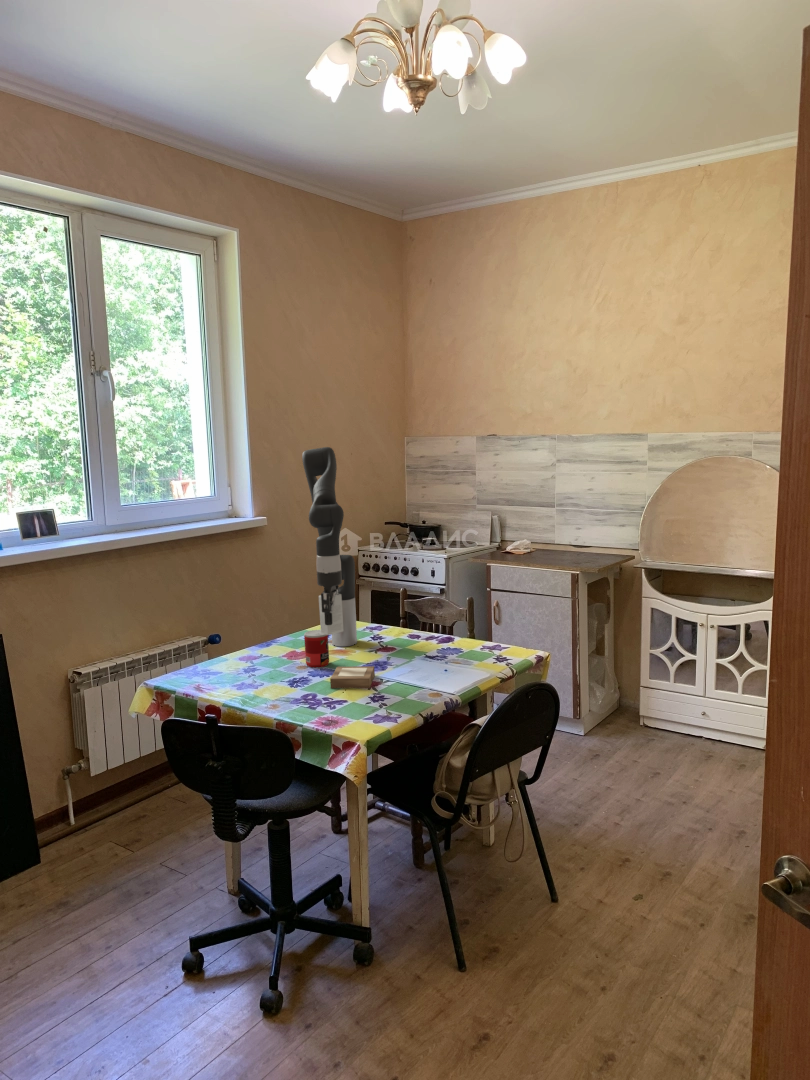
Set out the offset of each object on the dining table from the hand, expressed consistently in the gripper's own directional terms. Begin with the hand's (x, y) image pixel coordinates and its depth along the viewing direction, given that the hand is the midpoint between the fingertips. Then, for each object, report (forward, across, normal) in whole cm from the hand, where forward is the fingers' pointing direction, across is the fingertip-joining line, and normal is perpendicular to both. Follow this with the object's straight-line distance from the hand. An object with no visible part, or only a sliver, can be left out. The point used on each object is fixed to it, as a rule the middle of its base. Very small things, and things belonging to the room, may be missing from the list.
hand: (331, 621), depth 231 cm
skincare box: (+4, 0, 0) cm, 4 cm away
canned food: (+19, -17, -10) cm, 27 cm away
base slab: (+19, +1, +6) cm, 20 cm away
